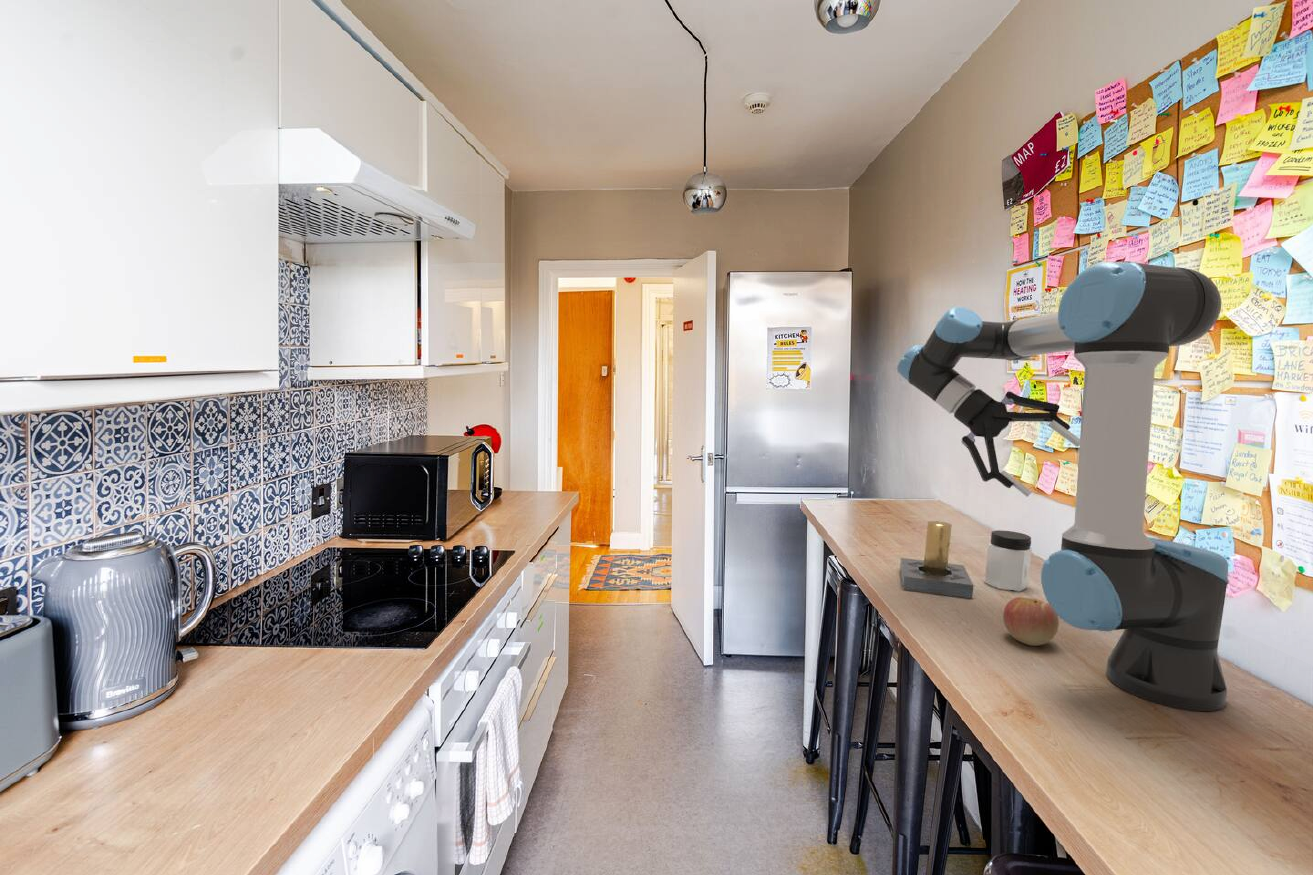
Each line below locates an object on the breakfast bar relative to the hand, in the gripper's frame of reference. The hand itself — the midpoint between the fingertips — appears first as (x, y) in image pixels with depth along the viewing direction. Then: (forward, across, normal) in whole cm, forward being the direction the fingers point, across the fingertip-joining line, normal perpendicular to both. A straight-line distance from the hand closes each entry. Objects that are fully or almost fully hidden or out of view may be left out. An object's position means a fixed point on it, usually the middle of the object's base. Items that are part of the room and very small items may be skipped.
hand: (1055, 469), depth 133 cm
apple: (+17, +29, +5) cm, 34 cm away
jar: (+10, +21, -29) cm, 37 cm away
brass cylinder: (-1, +31, -22) cm, 38 cm away
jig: (-1, +31, -22) cm, 38 cm away
